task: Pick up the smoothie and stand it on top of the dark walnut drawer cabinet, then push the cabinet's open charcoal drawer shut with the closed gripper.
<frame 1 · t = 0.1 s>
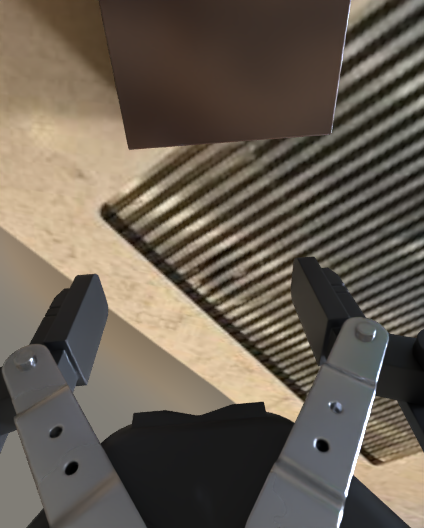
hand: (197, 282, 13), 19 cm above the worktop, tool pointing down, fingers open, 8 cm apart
cabinet: (214, 15, 24), on the worktop
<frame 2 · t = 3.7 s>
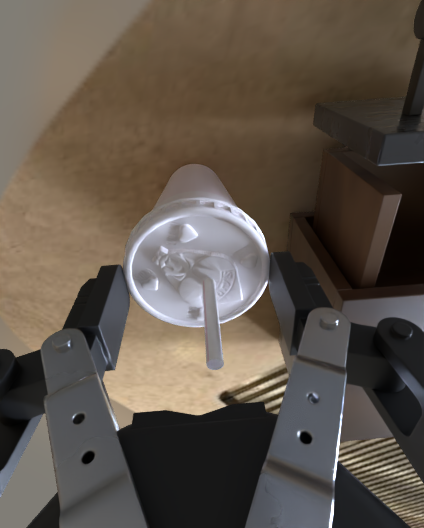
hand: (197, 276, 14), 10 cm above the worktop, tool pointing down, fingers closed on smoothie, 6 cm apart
cabinet: (357, 280, 27), on the worktop
smoothie: (194, 189, 22), on the worktop, touching gripper
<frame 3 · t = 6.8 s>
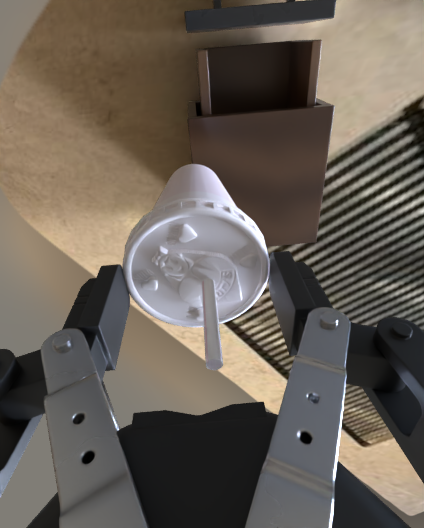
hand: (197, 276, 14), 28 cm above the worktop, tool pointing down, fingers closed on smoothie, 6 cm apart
cabinet: (245, 158, 39), on the worktop
smoothie: (194, 190, 22), point 18 cm above the worktop, touching gripper
drawer: (252, 66, 29), point 5 cm above the worktop, slide at 6.0 cm
when the fingers open (19 cm above the worktop, at t = 10.0 s): smoothie stays where it is, resting on cabinet.
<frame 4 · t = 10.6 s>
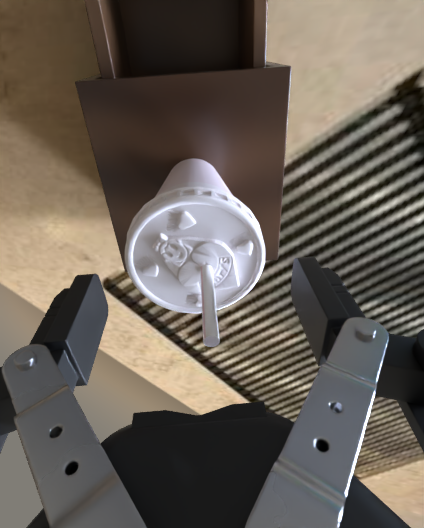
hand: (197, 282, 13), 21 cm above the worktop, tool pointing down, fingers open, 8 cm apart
cabinet: (193, 150, 30), on the worktop
smoothie: (193, 184, 22), point 9 cm above the worktop, touching cabinet
drawer: (179, 13, 21), point 5 cm above the worktop, slide at 6.0 cm
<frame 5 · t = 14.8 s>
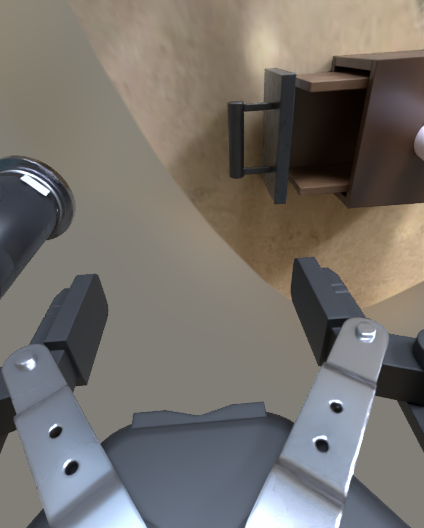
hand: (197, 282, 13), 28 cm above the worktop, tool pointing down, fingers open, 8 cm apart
cabinet: (383, 117, 36), on the worktop
drawer: (310, 133, 32), point 5 cm above the worktop, slide at 6.0 cm
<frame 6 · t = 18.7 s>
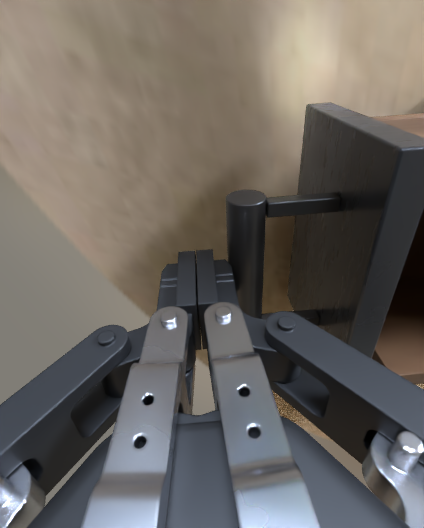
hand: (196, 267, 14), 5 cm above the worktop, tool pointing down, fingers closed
drawer: (407, 247, 15), point 5 cm above the worktop, slide at 6.0 cm, touching gripper
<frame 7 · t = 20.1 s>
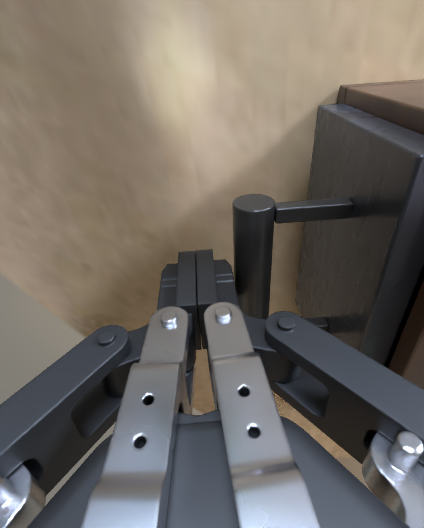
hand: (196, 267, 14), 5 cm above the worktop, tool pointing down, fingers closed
drawer: (421, 254, 14), point 5 cm above the worktop, slide at 0.0 cm, touching cabinet, gripper
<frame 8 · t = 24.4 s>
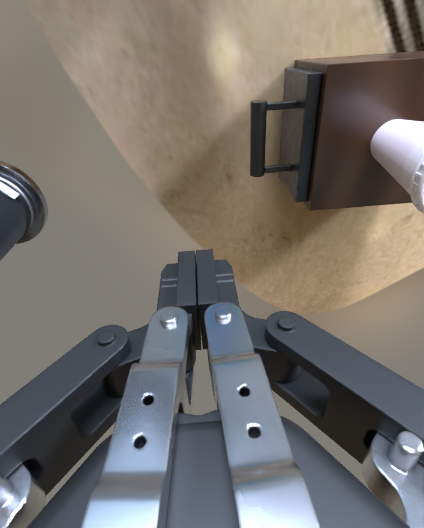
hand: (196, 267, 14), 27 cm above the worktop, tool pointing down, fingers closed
cabinet: (348, 120, 37), on the worktop
smoothie: (389, 140, 29), point 9 cm above the worktop, touching cabinet
drawer: (330, 132, 33), point 5 cm above the worktop, slide at 0.0 cm
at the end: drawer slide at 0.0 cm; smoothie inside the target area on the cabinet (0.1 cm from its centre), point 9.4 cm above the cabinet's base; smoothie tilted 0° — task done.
